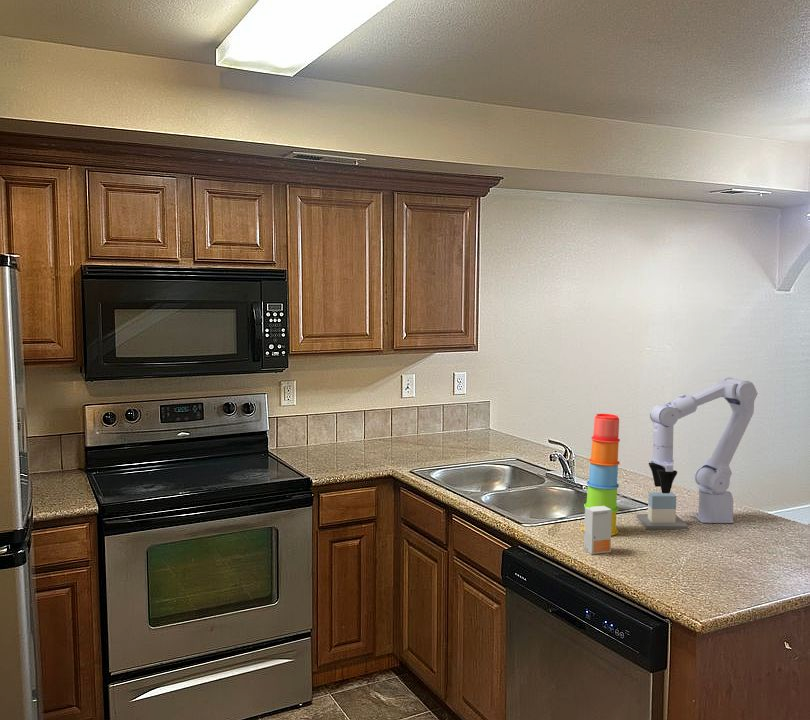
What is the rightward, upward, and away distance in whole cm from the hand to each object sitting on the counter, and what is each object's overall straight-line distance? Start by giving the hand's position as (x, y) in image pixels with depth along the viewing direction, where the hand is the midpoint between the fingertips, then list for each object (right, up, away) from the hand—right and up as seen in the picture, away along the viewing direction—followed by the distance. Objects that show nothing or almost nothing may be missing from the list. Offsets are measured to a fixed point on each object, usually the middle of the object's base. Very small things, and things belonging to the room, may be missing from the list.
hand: (662, 489), depth 231 cm
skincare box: (-25, -13, -23) cm, 36 cm away
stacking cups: (-20, -12, -6) cm, 24 cm away
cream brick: (0, -9, +1) cm, 9 cm away
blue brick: (0, -5, +1) cm, 5 cm away
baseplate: (0, -10, +1) cm, 10 cm away
